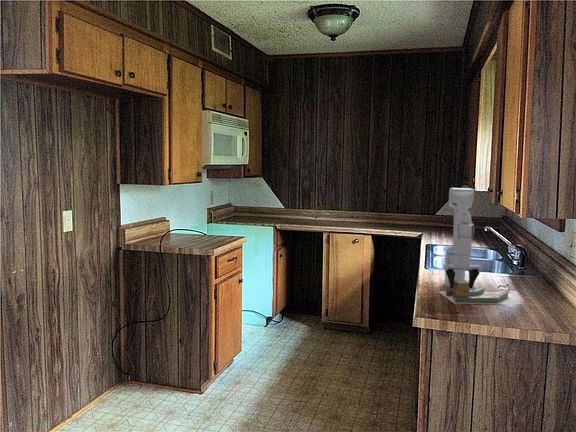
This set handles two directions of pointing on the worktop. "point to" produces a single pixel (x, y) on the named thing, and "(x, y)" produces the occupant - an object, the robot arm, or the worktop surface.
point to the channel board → (485, 294)
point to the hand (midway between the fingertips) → (461, 287)
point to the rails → (478, 299)
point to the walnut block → (460, 288)
